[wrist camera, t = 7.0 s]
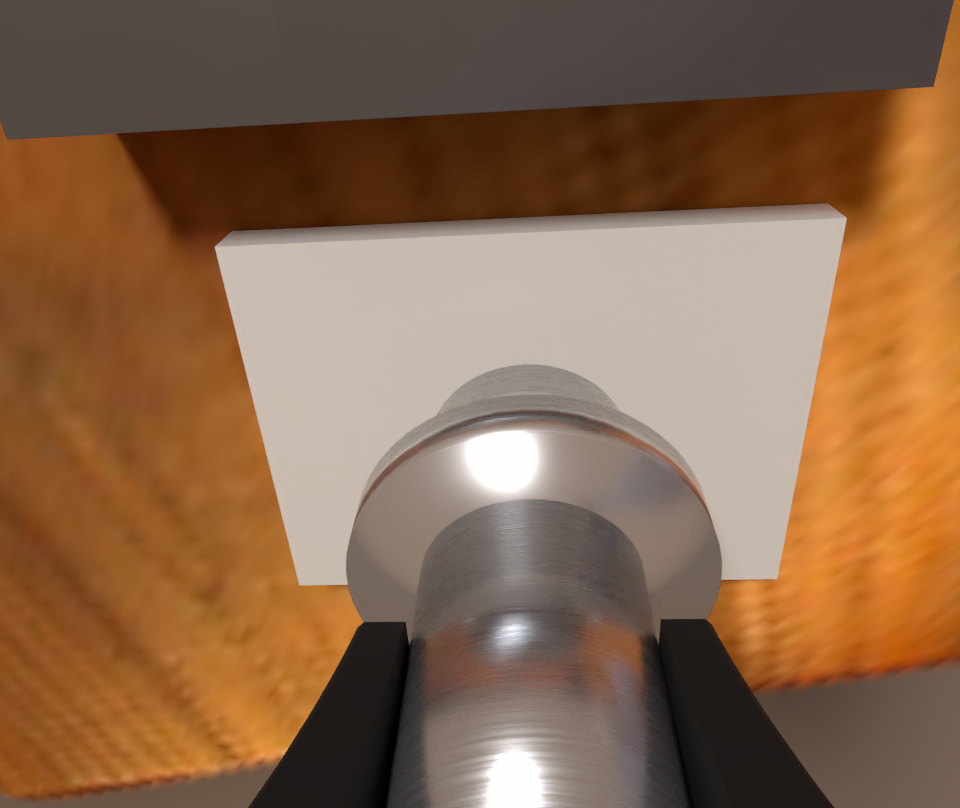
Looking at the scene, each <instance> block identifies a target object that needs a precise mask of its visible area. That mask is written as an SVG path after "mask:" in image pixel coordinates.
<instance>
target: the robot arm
mask: <svg viewBox="0 0 960 808" xmlns="http://www.w3.org/2000/svg"><path fill="white" fill-rule="evenodd" d="M659 650H660V655H661V660H662V666H663V671H664V676H665V681H666V686H667V691H668V696H669V701H670V706H671V711H672V716H673V722H674V727H675V732H676V737H677V742H678V747H679V752H680V757H681V762H682V768H683V773H684V778H685V783H686V788H687V793H688V798H689V803H690V808H834V807H833V806H832V804H831V803H830V802H829V801H828V799H827V798H826V797H825V795H824V794H823V793H822V791H821V790H820V789H819V787H818V786H817V784H816V783H815V782H814V780H813V779H812V778H811V776H810V775H809V774H808V772H807V771H806V770H805V768H804V767H803V766H802V764H801V763H800V762H799V760H798V758H797V757H796V756H795V754H794V753H793V751H792V750H791V749H790V747H789V746H788V744H787V743H786V742H785V740H784V739H783V737H782V736H781V735H780V733H779V732H778V730H777V729H776V728H775V726H774V725H773V723H772V722H771V720H770V719H769V717H768V716H767V714H766V713H765V711H764V710H763V708H762V707H761V705H760V704H759V702H758V701H757V699H756V697H755V696H754V694H753V693H752V691H751V690H750V688H749V687H748V685H747V684H746V682H745V680H744V679H743V677H742V676H741V674H740V672H739V671H738V669H737V668H736V666H735V664H734V663H733V661H732V659H731V658H730V656H729V654H728V653H727V651H726V649H725V647H724V646H723V644H722V642H721V641H720V639H719V637H718V635H717V633H716V632H715V630H714V628H713V626H712V625H711V624H710V623H709V622H708V621H707V620H706V619H661V623H660V634H659ZM408 653H409V641H408V634H407V628H406V622H364V623H363V624H361V625H360V626H359V627H358V628H357V630H356V632H355V634H354V636H353V638H352V640H351V642H350V644H349V646H348V648H347V650H346V652H345V654H344V655H343V657H342V659H341V661H340V663H339V665H338V667H337V668H336V670H335V672H334V674H333V676H332V677H331V679H330V681H329V683H328V684H327V686H326V688H325V690H324V691H323V693H322V695H321V696H320V698H319V700H318V702H317V703H316V705H315V707H314V708H313V710H312V712H311V713H310V715H309V716H308V718H307V720H306V721H305V723H304V724H303V726H302V728H301V729H300V731H299V732H298V734H297V736H296V737H295V739H294V740H293V742H292V744H291V745H290V747H289V748H288V750H287V752H286V753H285V755H284V756H283V758H282V759H281V761H280V762H279V764H278V766H277V767H276V768H275V770H274V771H273V773H272V774H271V776H270V777H269V779H268V780H267V781H266V783H265V784H264V786H263V787H262V789H261V790H260V791H259V793H258V794H257V796H256V797H255V799H254V800H253V802H252V803H251V804H250V806H249V807H248V808H386V802H387V796H388V789H389V782H390V775H391V768H392V762H393V755H394V748H395V741H396V734H397V727H398V721H399V714H400V707H401V700H402V693H403V687H404V680H405V673H406V666H407V659H408Z"/></svg>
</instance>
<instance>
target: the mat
mask: <svg viewBox="0 0 960 808" xmlns="http://www.w3.org/2000/svg"><path fill="white" fill-rule="evenodd" d="M846 220H847V218H846V217H845V216H844V215H842V214H841V213H840V212H838V211H837V210H836V209H834V208H833V207H832V206H830V205H829V204H828V203H819V204H798V205H777V206H755V207H734V208H713V209H692V210H671V211H649V212H628V213H607V214H586V215H565V216H543V217H522V218H501V219H480V220H459V221H437V222H416V223H395V224H374V225H353V226H331V227H310V228H289V229H268V230H247V231H231V232H230V233H229V234H228V235H227V236H226V237H225V238H224V239H223V240H222V241H221V242H219V243H218V244H217V245H216V246H215V250H216V254H217V258H218V262H219V266H220V270H221V274H222V278H223V282H224V286H225V290H226V294H227V298H228V302H229V306H230V310H231V314H232V318H233V322H234V326H235V330H236V334H237V338H238V342H239V346H240V350H241V354H242V358H243V362H244V366H245V370H246V374H247V378H248V382H249V386H250V390H251V394H252V398H253V402H254V406H255V410H256V414H257V418H258V422H259V426H260V430H261V434H262V438H263V442H264V446H265V450H266V454H267V458H268V462H269V466H270V470H271V474H272V478H273V482H274V486H275V490H276V494H277V498H278V502H279V506H280V510H281V514H282V518H283V522H284V526H285V530H286V534H287V538H288V542H289V546H290V550H291V554H292V558H293V562H294V566H295V570H296V573H297V577H298V581H299V585H348V582H347V575H346V553H347V549H348V544H349V540H350V535H351V532H352V528H353V524H354V521H355V517H356V513H357V509H358V506H359V502H360V498H361V494H362V492H363V490H364V487H365V485H366V482H367V480H368V478H369V476H370V474H371V473H372V471H373V470H374V468H375V466H376V465H377V463H378V462H379V460H380V459H381V458H382V457H383V456H384V455H385V454H386V452H387V451H388V450H389V449H390V448H391V447H392V446H393V445H394V444H395V443H396V442H397V441H399V440H400V439H401V438H402V437H403V436H404V435H406V434H407V433H408V432H409V431H411V430H412V429H414V428H416V427H417V426H419V425H420V424H422V423H423V422H425V421H427V420H428V419H431V418H433V417H435V416H437V413H438V411H439V410H440V408H441V407H442V405H443V404H444V402H445V401H446V400H447V399H448V398H449V397H450V396H451V395H452V393H454V392H455V391H456V390H457V389H458V388H460V387H461V386H462V385H463V384H465V383H467V382H468V381H470V380H471V379H473V378H475V377H477V376H479V375H481V374H483V373H486V372H489V371H492V370H495V369H498V368H502V367H507V366H513V365H524V364H531V365H545V366H553V367H557V368H561V369H565V370H568V371H570V372H573V373H576V374H578V375H580V376H582V377H584V378H586V379H588V380H590V381H591V382H592V383H594V384H595V385H597V386H598V387H599V388H601V389H602V390H603V391H604V392H605V393H606V394H607V395H608V396H609V397H610V398H611V399H612V401H613V402H614V403H615V404H616V406H617V407H618V409H619V411H620V412H622V413H625V414H627V415H629V416H630V417H632V418H634V419H636V420H638V421H640V422H642V423H644V424H645V425H647V426H648V427H650V428H651V429H653V430H654V431H655V432H657V433H658V434H660V435H661V436H662V437H664V438H665V439H666V440H667V441H668V442H669V443H670V444H671V445H672V446H673V447H674V448H675V449H676V450H677V451H678V452H679V453H680V454H681V455H682V457H683V458H684V459H685V461H686V462H687V463H688V464H689V466H690V467H691V469H692V470H693V472H694V474H695V476H696V478H697V480H698V482H699V483H700V486H701V489H702V492H703V495H704V498H705V501H706V504H707V507H708V510H709V513H710V516H711V519H712V522H713V526H714V529H715V532H716V535H717V538H718V541H719V544H720V550H721V557H722V576H721V580H741V579H777V576H778V571H779V566H780V561H781V556H782V551H783V545H784V540H785V535H786V530H787V525H788V520H789V514H790V509H791V504H792V499H793V494H794V489H795V483H796V478H797V473H798V468H799V463H800V458H801V452H802V447H803V442H804V437H805V432H806V427H807V421H808V416H809V411H810V406H811V401H812V396H813V390H814V385H815V380H816V375H817V370H818V365H819V359H820V354H821V349H822V344H823V339H824V334H825V328H826V323H827V318H828V313H829V308H830V303H831V297H832V292H833V287H834V282H835V277H836V272H837V266H838V261H839V256H840V251H841V246H842V241H843V235H844V230H845V225H846Z"/></svg>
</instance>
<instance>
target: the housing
mask: <svg viewBox="0 0 960 808" xmlns="http://www.w3.org/2000/svg"><path fill="white" fill-rule="evenodd" d="M953 1H954V0H0V121H1V124H2V127H3V129H4V132H5V135H6V138H7V140H10V139H28V138H45V137H63V136H80V135H98V134H115V133H133V132H150V131H168V130H185V129H203V128H220V127H238V126H255V125H273V124H290V123H308V122H325V121H343V120H360V119H378V118H395V117H413V116H430V115H448V114H465V113H483V112H500V111H518V110H535V109H553V108H570V107H588V106H605V105H623V104H640V103H658V102H675V101H693V100H710V99H728V98H745V97H763V96H780V95H798V94H815V93H833V92H850V91H868V90H885V89H903V88H920V87H934V82H935V78H936V74H937V70H938V65H939V61H940V57H941V52H942V48H943V44H944V39H945V35H946V31H947V27H948V22H949V18H950V14H951V9H952V5H953Z"/></svg>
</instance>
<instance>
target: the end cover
mask: <svg viewBox="0 0 960 808" xmlns="http://www.w3.org/2000/svg"><path fill="white" fill-rule="evenodd" d="M346 575H347V582H348V588H349V591H350V594H351V597H352V600H353V603H354V605H355V607H356V609H357V611H358V613H359V615H360V617H361V619H362V620H363V622H406V628H407V634H408V641H409V653H408V659H407V666H406V673H405V680H404V687H403V693H402V700H401V707H400V714H399V721H398V727H397V734H396V741H395V748H394V755H393V762H392V768H391V775H390V782H389V789H388V796H387V802H386V808H690V803H689V798H688V793H687V788H686V783H685V778H684V773H683V768H682V762H681V757H680V752H679V747H678V742H677V737H676V732H675V727H674V722H673V716H672V711H671V706H670V701H669V696H668V691H667V686H666V681H665V676H664V671H663V666H662V660H661V655H660V650H659V634H660V623H661V619H707V618H708V616H709V615H710V612H711V610H712V608H713V606H714V603H715V601H716V599H717V596H718V592H719V588H720V584H721V576H722V557H721V550H720V544H719V541H718V538H717V535H716V532H715V529H714V526H713V522H712V519H711V516H710V513H709V510H708V507H707V504H706V501H705V498H704V495H703V492H702V489H701V486H700V483H699V482H698V480H697V478H696V476H695V474H694V472H693V470H692V469H691V467H690V466H689V464H688V463H687V462H686V461H685V459H684V458H683V457H682V455H681V454H680V453H679V452H678V451H677V450H676V449H675V448H674V447H673V446H672V445H671V444H670V443H669V442H668V441H667V440H666V439H665V438H664V437H662V436H661V435H660V434H658V433H657V432H655V431H654V430H653V429H651V428H650V427H648V426H647V425H645V424H644V423H642V422H640V421H638V420H636V419H634V418H632V417H630V416H629V415H627V414H625V413H622V412H620V411H619V409H618V407H617V406H616V404H615V403H614V402H613V401H612V399H611V398H610V397H609V396H608V395H607V394H606V393H605V392H604V391H603V390H602V389H601V388H599V387H598V386H597V385H595V384H594V383H592V382H591V381H590V380H588V379H586V378H584V377H582V376H580V375H578V374H576V373H573V372H570V371H568V370H565V369H561V368H557V367H553V366H545V365H531V364H524V365H513V366H507V367H502V368H498V369H495V370H492V371H489V372H486V373H483V374H481V375H479V376H477V377H475V378H473V379H471V380H470V381H468V382H467V383H465V384H463V385H462V386H461V387H460V388H458V389H457V390H456V391H455V392H454V393H452V395H451V396H450V397H449V398H448V399H447V400H446V401H445V402H444V404H443V405H442V407H441V408H440V410H439V411H438V413H437V416H435V417H433V418H431V419H428V420H427V421H425V422H423V423H422V424H420V425H419V426H417V427H416V428H414V429H412V430H411V431H409V432H408V433H407V434H406V435H404V436H403V437H402V438H401V439H400V440H399V441H397V442H396V443H395V444H394V445H393V446H392V447H391V448H390V449H389V450H388V451H387V452H386V454H385V455H384V456H383V457H382V458H381V459H380V460H379V462H378V463H377V465H376V466H375V468H374V470H373V471H372V473H371V474H370V476H369V478H368V480H367V482H366V485H365V487H364V490H363V492H362V494H361V498H360V502H359V506H358V509H357V513H356V517H355V521H354V524H353V528H352V532H351V535H350V540H349V544H348V549H347V553H346Z"/></svg>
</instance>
